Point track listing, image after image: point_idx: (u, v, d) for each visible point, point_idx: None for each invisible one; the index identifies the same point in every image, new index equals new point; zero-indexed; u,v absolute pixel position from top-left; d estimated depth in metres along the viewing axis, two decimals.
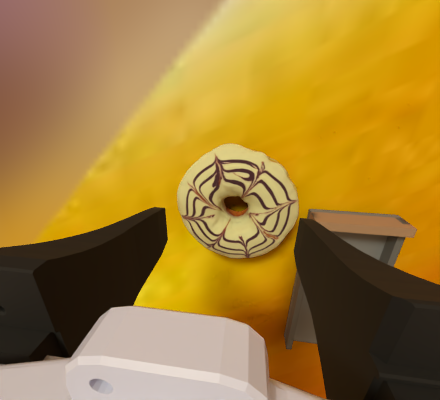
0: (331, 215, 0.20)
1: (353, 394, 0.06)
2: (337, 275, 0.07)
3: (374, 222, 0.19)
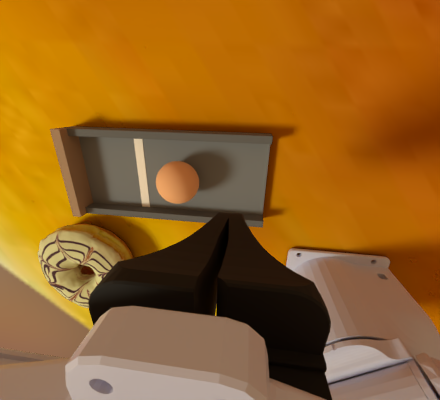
0: None
1: None
2: None
3: None
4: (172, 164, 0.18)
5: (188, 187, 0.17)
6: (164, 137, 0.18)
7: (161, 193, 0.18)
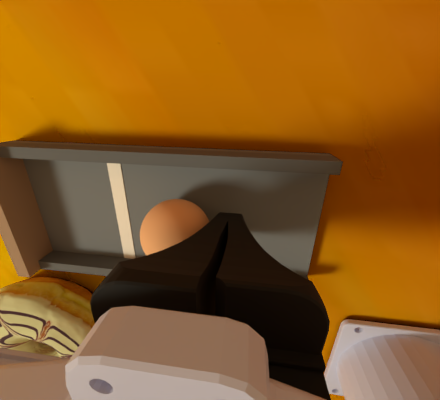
0: None
1: None
2: None
3: None
4: (167, 207, 0.10)
5: None
6: (154, 161, 0.11)
7: None
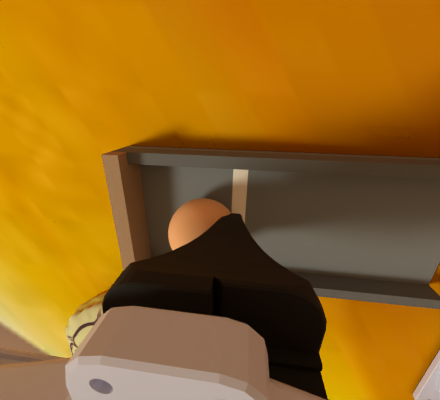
0: None
1: None
2: None
3: None
4: (209, 199, 0.11)
5: None
6: (302, 168, 0.10)
7: None
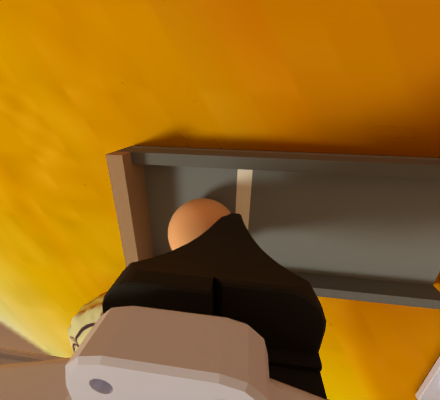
0: None
1: None
2: None
3: None
4: (210, 199, 0.11)
5: None
6: (307, 168, 0.10)
7: None
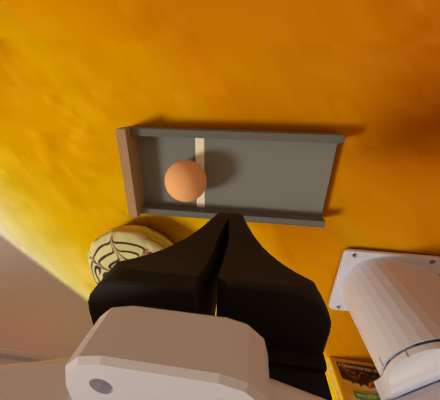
0: None
1: None
2: None
3: None
4: (186, 160, 0.19)
5: None
6: (231, 137, 0.18)
7: None
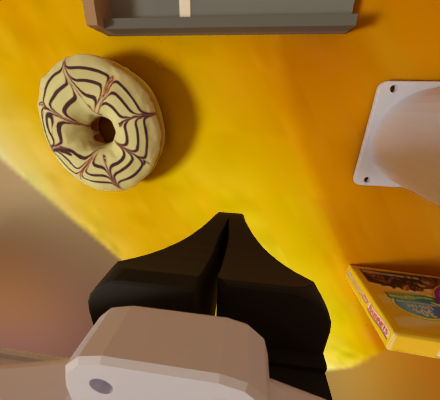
0: None
1: None
2: None
3: None
4: None
5: None
6: None
7: None
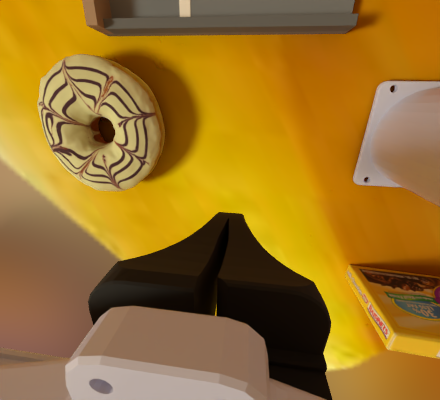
0: None
1: None
2: None
3: None
4: None
5: None
6: None
7: None
